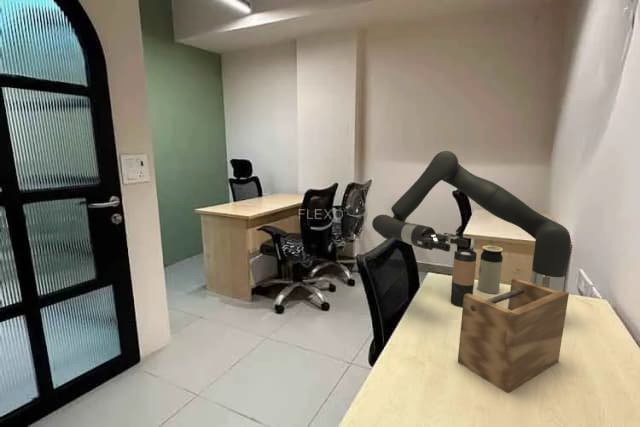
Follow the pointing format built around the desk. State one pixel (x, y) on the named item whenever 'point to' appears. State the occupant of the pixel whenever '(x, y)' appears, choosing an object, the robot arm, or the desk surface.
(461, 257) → the travel mug
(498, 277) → the travel mug
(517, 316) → the wooden crate with handle
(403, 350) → the desk surface
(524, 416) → the desk surface
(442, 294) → the desk surface
